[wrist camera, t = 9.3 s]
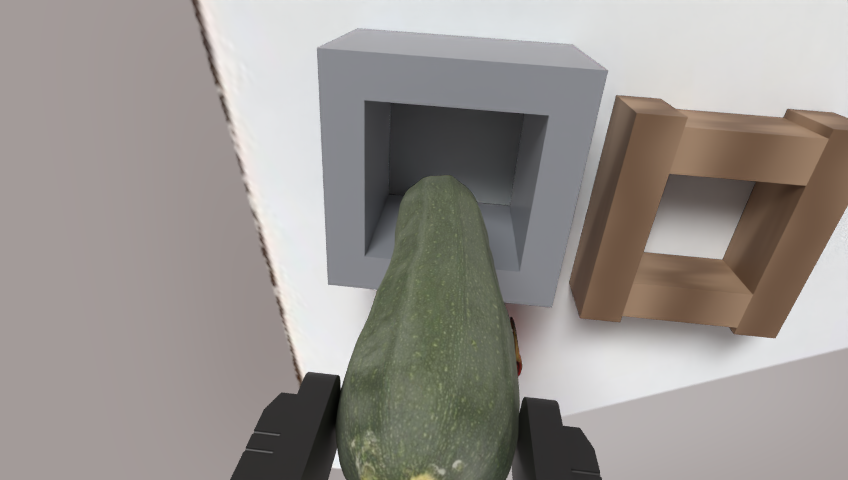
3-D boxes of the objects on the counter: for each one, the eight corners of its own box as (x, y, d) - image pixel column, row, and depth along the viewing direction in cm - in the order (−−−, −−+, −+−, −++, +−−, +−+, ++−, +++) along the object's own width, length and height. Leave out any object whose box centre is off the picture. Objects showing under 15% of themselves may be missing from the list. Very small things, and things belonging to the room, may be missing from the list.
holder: (572, 44, 26) (608, 70, 19) (534, 235, 32) (551, 307, 25) (357, 28, 27) (316, 47, 20) (358, 218, 33) (328, 284, 26)
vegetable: (419, 131, 22) (216, 719, 5) (509, 155, 22) (635, 808, 5) (399, 214, 24) (211, 825, 7) (482, 236, 24) (500, 884, 7)
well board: (833, 112, 27) (887, 133, 23) (743, 300, 33) (775, 338, 30) (616, 95, 28) (637, 113, 24) (569, 282, 34) (580, 318, 30)
